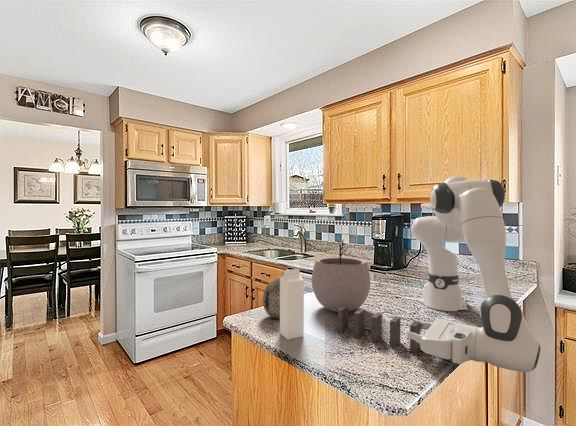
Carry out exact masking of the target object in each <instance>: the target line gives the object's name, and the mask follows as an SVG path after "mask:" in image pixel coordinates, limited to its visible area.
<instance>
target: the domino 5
mask: <svg viewBox="0 0 576 426" xmlns="http://www.w3.org/2000/svg"><path fill="white" fill-rule="evenodd" d="M420 322H421V321H419V320H414V321H412V323H411V324H410V325H409V328H410V329H409V331H413V332H415V333H416V334H419V335H420V334H421V329H420ZM420 349H421V344H420V343H418V342H416V341H415V340H413V339H409V352H410V353H413V354H417V353H418V351H419V350H420Z"/></svg>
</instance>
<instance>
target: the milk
mask: <svg viewBox="0 0 576 426" xmlns="http://www.w3.org/2000/svg"><path fill="white" fill-rule="evenodd" d="M300 271H301V270H300V268H296V269H295V268H293V269H287V270H283V275H282V276H281V277H279V279H280V318H279V334H280V335H281V336H283V338H285V339H286V340H287V341H289V340H293V339H298V338H303V337H304V336H305V335H304V332H305V330H304V329H305V327H304V326H305V325H304V324H305V323H304V322H305V320H304V319H305V318H304V317H305V316H304V313H305V312H304V311H305V309H304V307H305V306H304V305H305V298H304V297H305V289H304V287H305V283H304V282H305V281H304V278H303V277H302V275H301V273H300Z"/></svg>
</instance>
